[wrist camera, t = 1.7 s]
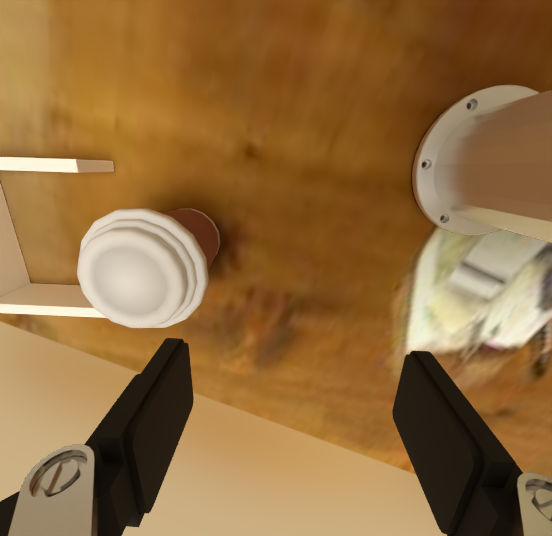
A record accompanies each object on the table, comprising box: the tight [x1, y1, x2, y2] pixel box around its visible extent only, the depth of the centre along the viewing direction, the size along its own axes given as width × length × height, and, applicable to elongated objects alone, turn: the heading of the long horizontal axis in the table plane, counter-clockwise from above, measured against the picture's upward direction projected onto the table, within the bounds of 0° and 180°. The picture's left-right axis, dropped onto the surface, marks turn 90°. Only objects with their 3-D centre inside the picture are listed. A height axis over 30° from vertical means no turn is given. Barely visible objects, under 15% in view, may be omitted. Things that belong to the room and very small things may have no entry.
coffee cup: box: [77, 208, 220, 328], centre depth 23 cm, size 9×9×12 cm
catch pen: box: [0, 157, 114, 318], centre depth 27 cm, size 13×14×5 cm
